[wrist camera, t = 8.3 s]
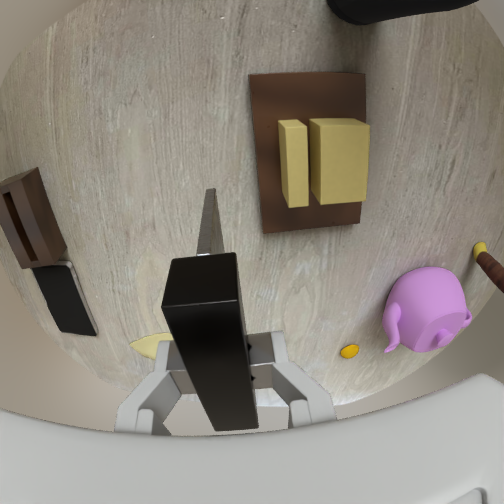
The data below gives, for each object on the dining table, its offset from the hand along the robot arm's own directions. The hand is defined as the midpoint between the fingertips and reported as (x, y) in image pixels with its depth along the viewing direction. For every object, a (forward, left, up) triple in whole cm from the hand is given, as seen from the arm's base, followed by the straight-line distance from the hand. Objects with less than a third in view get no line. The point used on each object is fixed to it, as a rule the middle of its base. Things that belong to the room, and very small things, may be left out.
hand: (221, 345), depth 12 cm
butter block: (-1, +12, -22) cm, 25 cm away
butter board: (-1, +10, -24) cm, 25 cm away
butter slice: (-1, +7, -22) cm, 23 cm away
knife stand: (+1, -26, -24) cm, 35 cm away
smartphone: (+16, -28, -24) cm, 40 cm away
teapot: (+23, +28, -24) cm, 43 cm away
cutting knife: (0, 0, -6) cm, 6 cm away
